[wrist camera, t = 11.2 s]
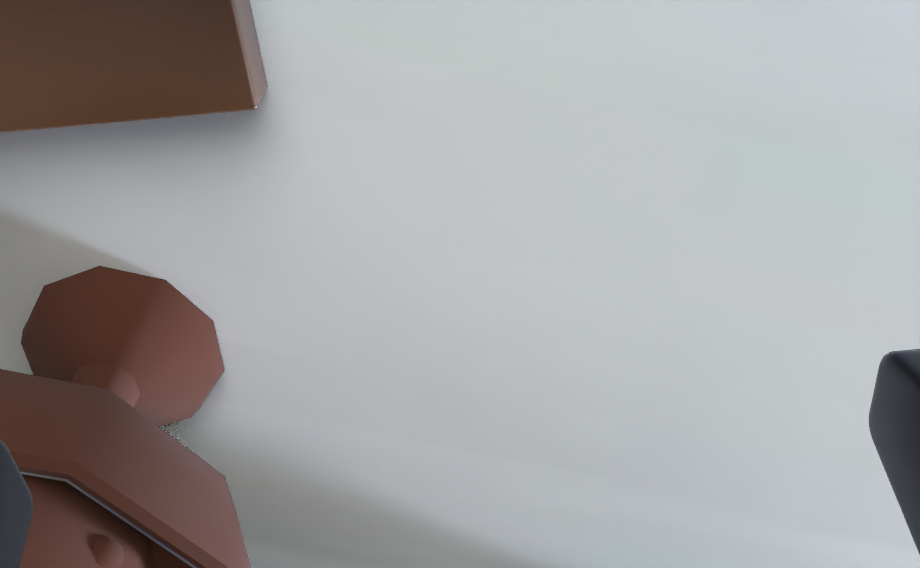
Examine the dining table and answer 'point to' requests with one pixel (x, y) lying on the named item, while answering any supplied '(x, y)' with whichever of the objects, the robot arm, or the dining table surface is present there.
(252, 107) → the walnut board
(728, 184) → the dining table surface
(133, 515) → the ice cream bowl
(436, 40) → the dining table surface
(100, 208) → the dining table surface
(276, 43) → the dining table surface
